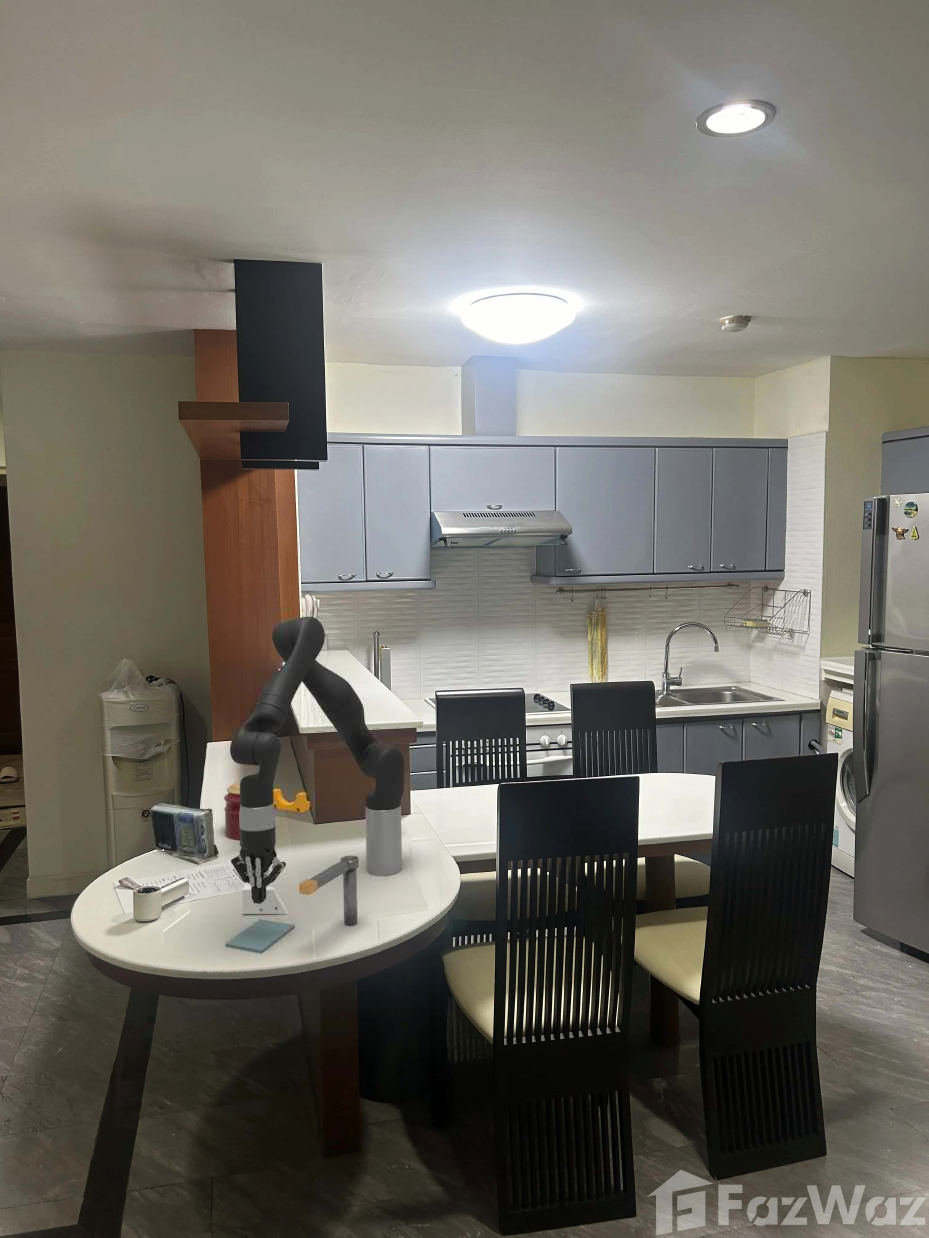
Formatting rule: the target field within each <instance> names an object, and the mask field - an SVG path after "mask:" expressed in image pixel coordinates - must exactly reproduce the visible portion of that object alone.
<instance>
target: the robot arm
mask: <svg viewBox="0 0 929 1238" xmlns="http://www.w3.org/2000/svg"><path fill="white" fill-rule="evenodd" d="M271 638H272V639H271V640H272V643H273V646H274V648H275V651H276V652H277V653H278V655H279V656H280V658H281V659H282V660H283V661H284V664H283V665H282V666H281V667H280V669H278V670H277V672H276V673H274V675H273V676H272V677H271V678H270V679H269V681H268V682H267V683H266V684H265V686H264V688H263V689H262V691H261V693H260V695H259V696H258V698H257V699H258V700H257V702H256V704H255V707H254V708H253V711H252V713H251V714H250V715H249V716H248V718H246V720H245V721H244V722H243V723H242V725H241V726H240V727H239V728H238V730H237V731H236V732H235V734H234V735H233V738H232V740H231V742H230V748H229V753H230V757H231V760H233V762H234V763H236V764H239V765H244V766H246V765H247V766H258V767H259V768H258V773H254V774H249V775H245V776H243V777H244V778H243V777H242V778H241V779H240V781H239V782H240V812H239V825H240V840H239V845H240V850H239V854H238V855H237V856H235V857H233V858H231V859H230V862H231V865H232V866H233V868H234V869H235V871H236V872H237V874H238V875H239V877H240V879H241V881H242V882H243V883H245V884H250V886H251V893H252V900H253V902H254V903H257V904H261V903H262V902H264V900H265V899H266V887H269V886H270V884H272V883H275V881H276V880H277V878H278V877H279V875H280V874H281V873H282V871H283V870H284V869H285V867H286V865H287V863H286V862H285V861H284V860H283V861H281V860H280V859H279V858H278V854H277V853H278V852H277V851H276V848H275V847H276V840H277V837H276V833H277V832H276V810H275V808H274V793H273V790H274V783H275V777H276V773H277V768H278V765H279V761H280V757H281V752H282V745H281V744H282V743H281V741H280V738H279V737H278V736H277V735H276V734H275V733H273V732H277V731H278V730H280V729H281V728H282V727H283V725H284V722H285V720H286V717H287V715H288V712H289V710H290V708H291V705H292V702H293V700H294V697H295V696H296V693H297V691H298V689H299V687H300V686H301V684H303V685H304V686H305V688H306V690H308V692H309V693H310V694H311V695H312V697H313V698H314V700H315V701H316V703H317V704H318V706H319V708H320V710H322V712H323V713H324V715H325V717H326V718H327V719H328V721H329V722H330V723H331V724H332V726H333V728H335V730H336V731H337V733H338V735H339V736H340V737H341V738H342V740H343V741H344V742H345V744H346V746H347V747H348V750H349V751H350V753H351V754H352V757H353V759H354V761H355V762H356V764H357V767H358V768H359V769H360V771H361V772H362V774H364V775H365V776H366V777H368V778H370V779H374V780H375V790H374V791H370V792H368V793H367V794H366V795H365V801H364V802H365V805H364V806H365V850H366V851H365V852H366V853H365V855H366V857H365V858H366V861H365V862H366V872H367V873H368V874H370V875H373V876H380V877H385V876H392V875H396V874H398V873H400V872H402V869H403V853H402V852H403V851H402V850H403V846H402V843H403V839H402V834H403V833H402V799H403V796H404V791H405V790H404V789H405V772H406V771H405V770H406V768H405V767H406V766H405V757H404V754H403V752H402V751H401V749H400V748H399V747H396V746H393V745H389V744H385V743H381V742H380V741H378V739H377V738H375V736H374V734H372V732H371V731H370V729H369V727H368V726H367V724H366V720H365V718H366V717H365V708H364V705H363V702H362V701H361V698H360V696H359V695H358V694H357V693H356V691H355V689H354V688H353V686H352V685H351V684H350V682H349V681H347V680H346V679H345V678H343V676H340V675H339V674H338V673H335V672H334V671H333V670H331V669H329V668H327V667H326V666H324V665H322V664H321V663H320V662H319V661H318V660H317V657H318V656H319V654H320V653H321V651H322V649H323V646H324V644H325V639H326V635H325V627H324V626H323V624H322V623H321V621H320V620H319V619H317V618H316V617H314V616H301V617H298V618H293V619H290V620H285V621H283V622H279V623H277V624H276V625H275V626H274V628H273V629H272V634H271ZM270 868H271V871H270Z"/></svg>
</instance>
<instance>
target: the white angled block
mask: <svg viewBox="0 0 929 1238" xmlns="http://www.w3.org/2000/svg"><path fill="white" fill-rule="evenodd" d="M288 913H289V910H288V909H287V906H286V905H285V903H284V902H283V900H282V898H281V896H280V895H279V893H278V891H277V890H276V888H275V887H274V886H266V899H265V900H264V902H262V903H261V904H257V903H254V902H253V900H252V893H251V886H250V884H249V883H245V885H244V887H243V888H242V915H288Z"/></svg>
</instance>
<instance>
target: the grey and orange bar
mask: <svg viewBox="0 0 929 1238" xmlns="http://www.w3.org/2000/svg"><path fill="white" fill-rule="evenodd" d="M359 862H360V861H359V856H357V855H345V856H342V857H340V861H338V862H337V863H335V864H333V865H331V866H330V867H328V868H326V869H324V870H322V871H320V872H319V873H318V874H316V875H314V876H313V877H311V878H309V879H308V878H307V879H305V880H304V881H302V882H300V883H299V884H298V890H299V891H298V893H299V895H306V896H310V895H312V894H314V893H315V892H316V891H318V890H319V889H320V888H321V887H323V886H325V885H326V884H328V883H330V882H331V881H334V879H336V878H338V877H340V876H341V875H342V876H343V873H345V872H347V871H348V870H353V869H356V870H357V869H358V868H359V867H360V865H359Z"/></svg>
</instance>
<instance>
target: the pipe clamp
mask: <svg viewBox="0 0 929 1238" xmlns="http://www.w3.org/2000/svg"><path fill="white" fill-rule="evenodd" d="M273 793H274V809H275V808H276V809H278V810H284V811H285V810H286V811H291V812H299V813H304V812H306V811H309V810H310V809H309V807H310V808H311V801H309V800H307V792H299V793H297V794H296V797H295V800H294V801H291V802H289V801H287V800H286V799H285V798H284V797H283V794H282V790H281V789H280V788H275V789H274V788H273Z"/></svg>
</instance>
